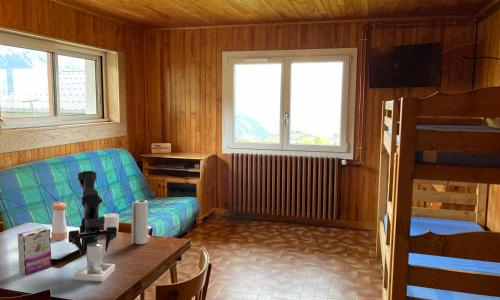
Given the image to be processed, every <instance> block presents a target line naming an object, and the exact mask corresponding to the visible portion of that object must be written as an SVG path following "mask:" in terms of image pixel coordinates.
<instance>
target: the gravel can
mask: <svg viewBox="0 0 500 300" xmlns="http://www.w3.org/2000/svg"><path fill="white" fill-rule="evenodd" d="M103 250H104V247H103V243H102V242H99V241H98V242H94V243H89V244H87V251H86V264H87V274H96V275H102V274H103V264H104V262H103V261H104V259H103V258H104V254H103Z"/></svg>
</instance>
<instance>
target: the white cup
mask: <svg viewBox="0 0 500 300" xmlns="http://www.w3.org/2000/svg"><path fill="white" fill-rule="evenodd" d="M103 216H104V219H105V224H103V231H106V230H107V227H116V228H117V234H118V233H119V223H120V222H119V221H120V214H118V213H114V212H111V213H105V214H103Z"/></svg>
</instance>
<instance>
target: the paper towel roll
mask: <svg viewBox="0 0 500 300" xmlns="http://www.w3.org/2000/svg"><path fill="white" fill-rule="evenodd" d="M148 204H149V203H148V200H146V199H138V200H135V201H133V202H131V211H130V213H131V222H130V223H131V224H130V225H131V239H130V240H131V242H130V243H131V245H133V244H136V245H145V244H147V243H148V240H149V239H148V234H149V233H148V230H149V229H148V226H149V225H148V224H149V223H148V219H149V217H148V216H149V215H148V214H149V213H148V212H149V205H148Z"/></svg>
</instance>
